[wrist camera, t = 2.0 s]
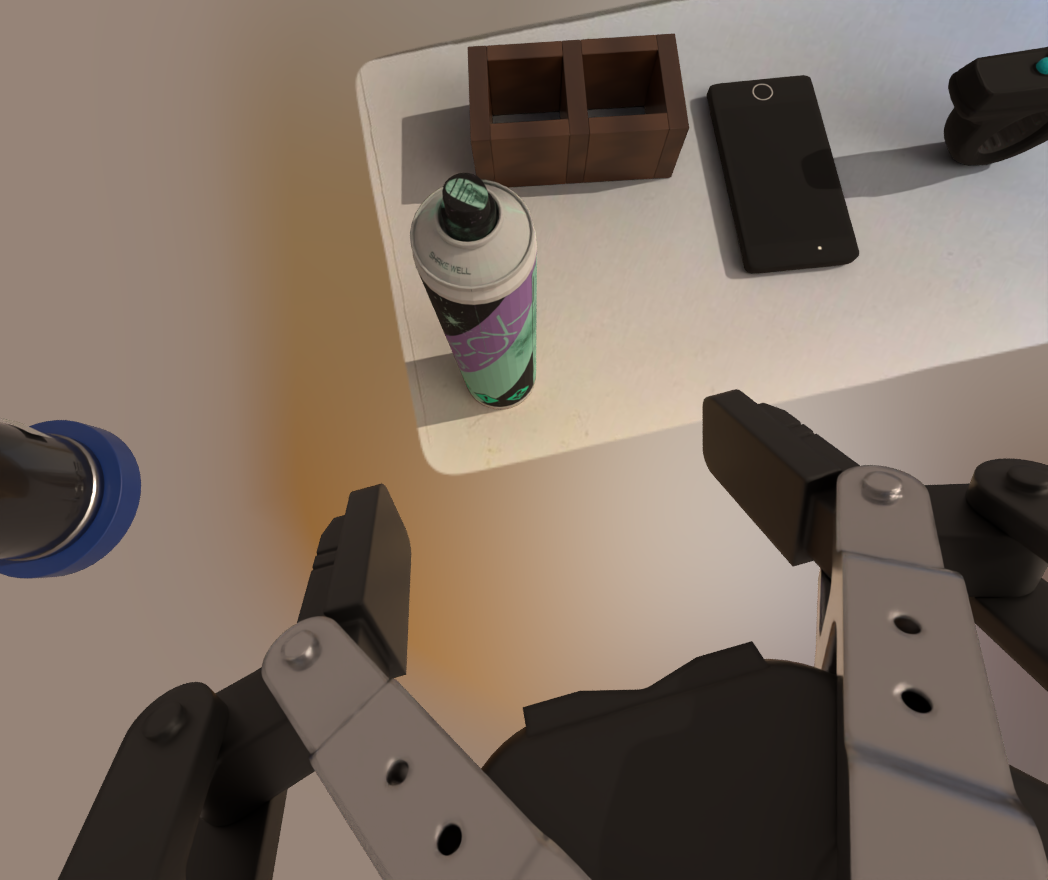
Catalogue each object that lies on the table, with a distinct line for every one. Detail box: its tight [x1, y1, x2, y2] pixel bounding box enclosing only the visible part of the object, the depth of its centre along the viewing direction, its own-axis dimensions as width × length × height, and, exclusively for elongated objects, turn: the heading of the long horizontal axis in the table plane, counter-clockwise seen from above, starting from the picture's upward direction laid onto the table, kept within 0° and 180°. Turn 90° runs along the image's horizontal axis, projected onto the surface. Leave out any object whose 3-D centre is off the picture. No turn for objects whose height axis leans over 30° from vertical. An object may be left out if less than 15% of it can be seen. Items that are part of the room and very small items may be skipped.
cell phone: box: [707, 75, 859, 273], centre depth 40 cm, size 9×18×1 cm, turn 5°
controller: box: [944, 47, 1048, 165], centre depth 36 cm, size 4×12×10 cm, turn 98°
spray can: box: [410, 173, 537, 409], centre depth 28 cm, size 6×6×20 cm
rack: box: [468, 34, 689, 187], centre depth 40 cm, size 16×9×5 cm, turn 93°
